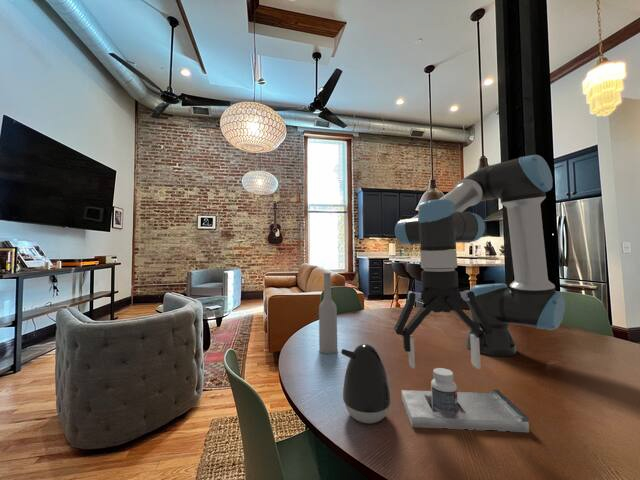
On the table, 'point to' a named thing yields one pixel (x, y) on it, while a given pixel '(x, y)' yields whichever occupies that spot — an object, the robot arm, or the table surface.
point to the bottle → (327, 320)
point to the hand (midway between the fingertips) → (443, 366)
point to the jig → (466, 412)
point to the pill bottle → (443, 391)
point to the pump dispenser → (366, 385)
